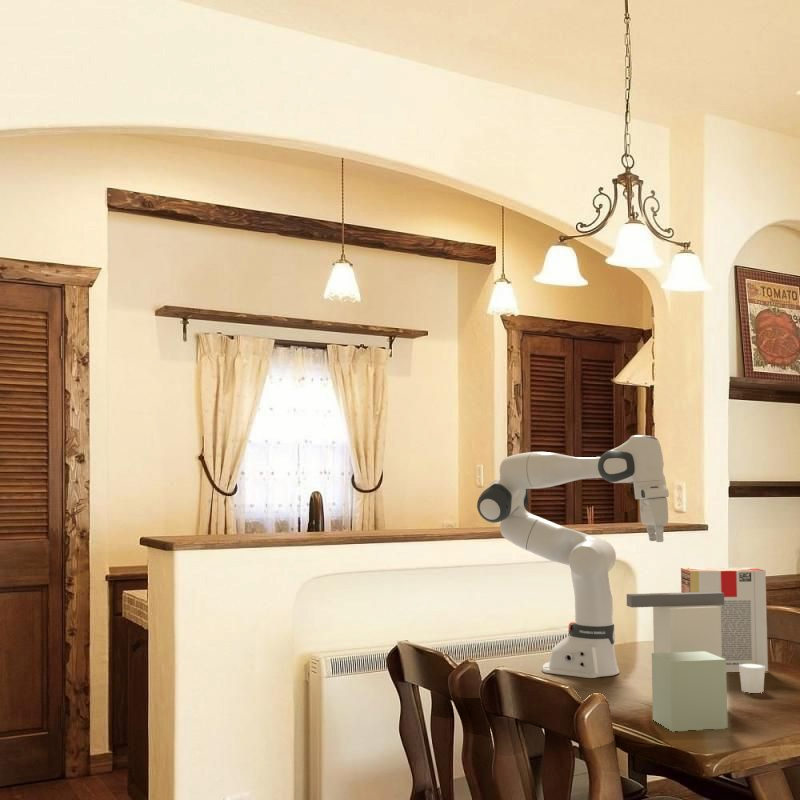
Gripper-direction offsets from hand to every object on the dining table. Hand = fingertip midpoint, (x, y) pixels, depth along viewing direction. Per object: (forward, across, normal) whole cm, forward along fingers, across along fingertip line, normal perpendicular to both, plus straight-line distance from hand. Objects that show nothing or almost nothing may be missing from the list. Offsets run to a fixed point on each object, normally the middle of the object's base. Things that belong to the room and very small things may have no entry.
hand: (656, 541), depth 267 cm
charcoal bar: (+16, +14, 0) cm, 22 cm away
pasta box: (+41, -28, +21) cm, 54 cm away
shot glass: (+43, -1, +21) cm, 48 cm away
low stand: (+42, +34, -4) cm, 54 cm away
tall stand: (+41, +12, +1) cm, 43 cm away
